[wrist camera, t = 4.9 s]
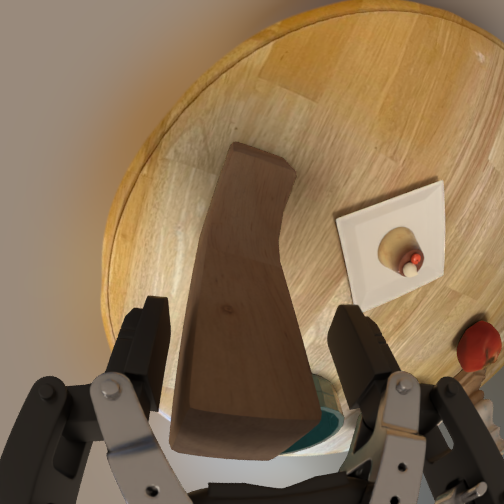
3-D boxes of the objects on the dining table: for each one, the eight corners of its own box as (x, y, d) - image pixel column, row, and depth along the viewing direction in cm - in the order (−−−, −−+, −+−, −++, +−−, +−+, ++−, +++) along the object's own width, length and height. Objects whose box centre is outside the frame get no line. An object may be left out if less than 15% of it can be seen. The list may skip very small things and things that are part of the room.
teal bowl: (210, 430, 43) (210, 456, 38) (210, 371, 33) (209, 407, 28) (315, 426, 45) (320, 450, 40) (353, 367, 35) (364, 398, 31)
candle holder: (435, 393, 46) (472, 475, 26) (470, 361, 42) (516, 443, 21) (452, 394, 50) (486, 465, 29) (483, 365, 45) (523, 436, 24)
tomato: (474, 343, 38) (493, 372, 31) (442, 357, 38) (461, 390, 31) (493, 306, 34) (517, 336, 27) (461, 319, 34) (486, 354, 27)
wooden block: (232, 139, 20) (237, 278, 4) (286, 158, 21) (423, 321, 5) (198, 240, 24) (167, 453, 8) (247, 254, 25) (272, 463, 9)
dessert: (436, 176, 22) (467, 192, 18) (438, 270, 28) (460, 293, 24) (331, 214, 24) (351, 239, 20) (352, 308, 29) (367, 339, 25)
